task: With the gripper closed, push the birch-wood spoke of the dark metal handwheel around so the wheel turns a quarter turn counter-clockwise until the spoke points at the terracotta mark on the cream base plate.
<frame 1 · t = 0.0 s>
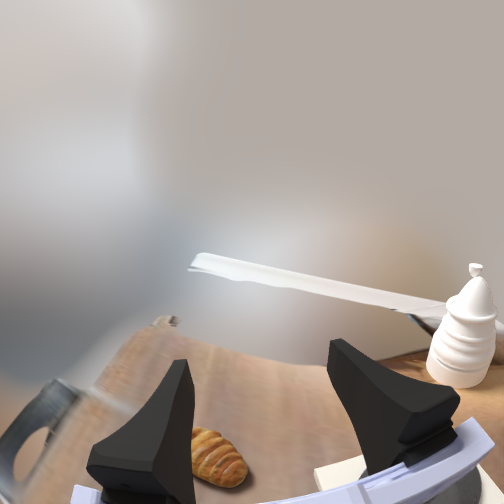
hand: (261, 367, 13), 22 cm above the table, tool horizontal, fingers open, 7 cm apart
pastry: (212, 461, 26), on the table
handwheel: (426, 487, 14), point 4 cm above the table, hinge at 0.0°
honey pot: (456, 367, 35), on the table
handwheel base: (413, 502, 15), on the table
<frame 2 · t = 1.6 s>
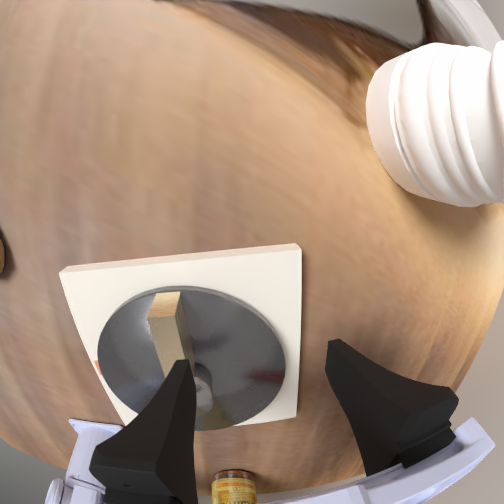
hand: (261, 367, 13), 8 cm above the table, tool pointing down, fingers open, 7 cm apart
handwheel: (188, 386, 18), point 4 cm above the table, hinge at 0.0°
sauce bottle: (230, 474, 30), on the table
honey pot: (424, 125, 18), on the table
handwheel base: (191, 355, 22), on the table
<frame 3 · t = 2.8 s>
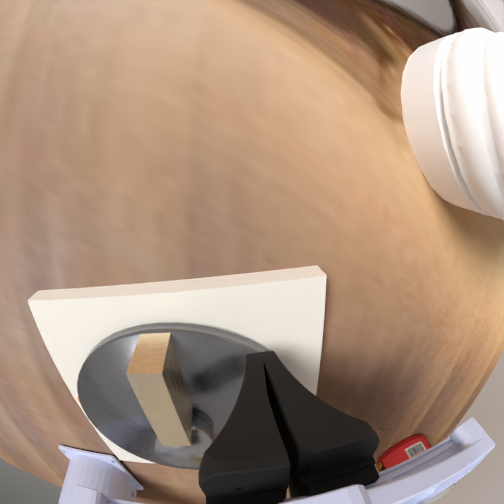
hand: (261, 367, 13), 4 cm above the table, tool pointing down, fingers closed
canned food: (399, 448, 27), on the table
handwheel: (185, 435, 14), point 4 cm above the table, hinge at 0.0°
honey pot: (460, 123, 14), on the table
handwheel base: (188, 393, 18), on the table
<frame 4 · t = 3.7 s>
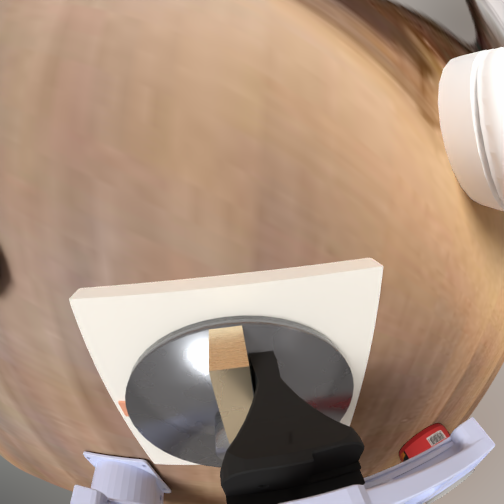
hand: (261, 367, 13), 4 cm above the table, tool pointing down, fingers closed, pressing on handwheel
canned food: (419, 438, 27), on the table
handwheel: (244, 431, 14), point 4 cm above the table, hinge at 1.3°, touching gripper
honey pot: (483, 129, 14), on the table
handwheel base: (238, 389, 18), on the table
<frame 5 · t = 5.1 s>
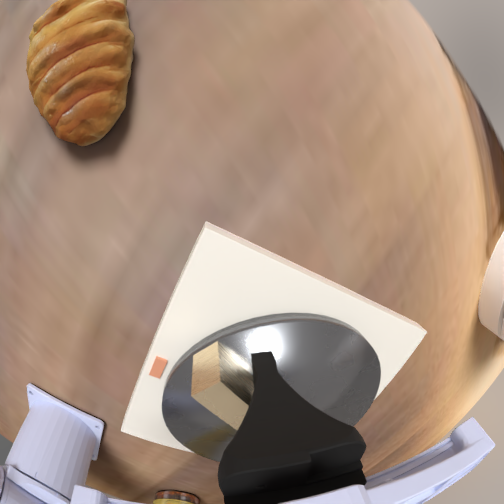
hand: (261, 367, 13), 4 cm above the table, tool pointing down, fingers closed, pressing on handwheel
pastry: (90, 63, 11), on the table
handwheel: (281, 426, 15), point 4 cm above the table, hinge at 61.2°, touching gripper
sauce bottle: (175, 494, 24), on the table
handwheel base: (270, 386, 18), on the table
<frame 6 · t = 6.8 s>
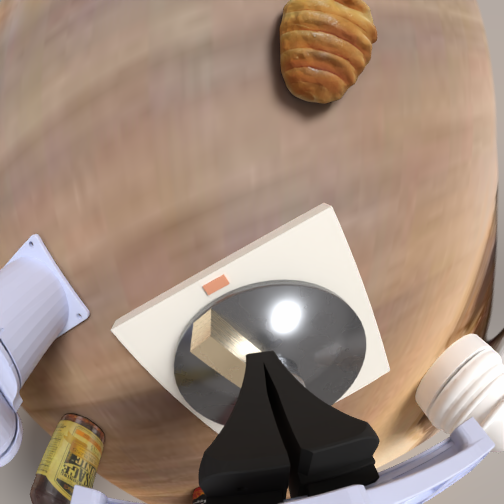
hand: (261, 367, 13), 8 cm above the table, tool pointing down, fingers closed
canned food: (216, 491, 31), on the table
pastry: (322, 45, 15), on the table
handwheel: (277, 384, 18), point 4 cm above the table, hinge at 102.2°
sauce bottle: (83, 424, 24), on the table
honey pot: (449, 371, 28), on the table
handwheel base: (268, 352, 22), on the table
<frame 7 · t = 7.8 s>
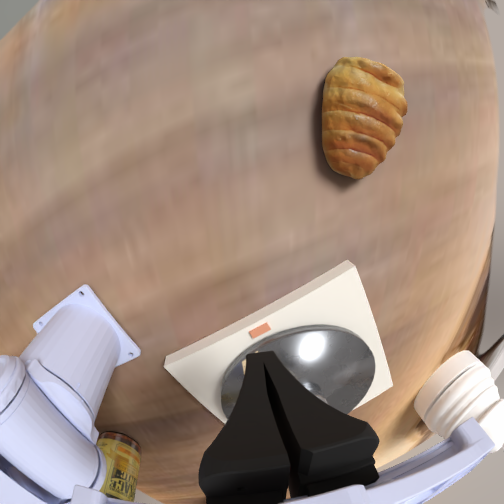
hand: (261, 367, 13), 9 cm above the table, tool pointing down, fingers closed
pastry: (356, 114, 19), on the table
handwheel: (305, 403, 22), point 4 cm above the table, hinge at 102.2°
sauce bottle: (120, 440, 27), on the table
honey pot: (444, 382, 32), on the table
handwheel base: (295, 375, 25), on the table
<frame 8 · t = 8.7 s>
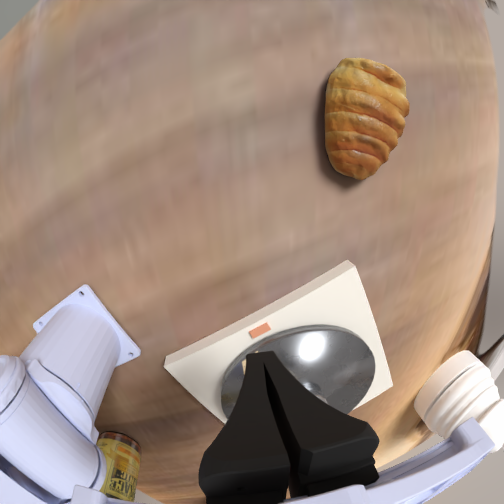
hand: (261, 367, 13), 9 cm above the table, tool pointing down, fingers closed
pastry: (358, 114, 19), on the table
handwheel: (305, 403, 22), point 4 cm above the table, hinge at 102.2°
sauce bottle: (120, 440, 27), on the table
honey pot: (444, 382, 32), on the table
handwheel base: (295, 375, 25), on the table
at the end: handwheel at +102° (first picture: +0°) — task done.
